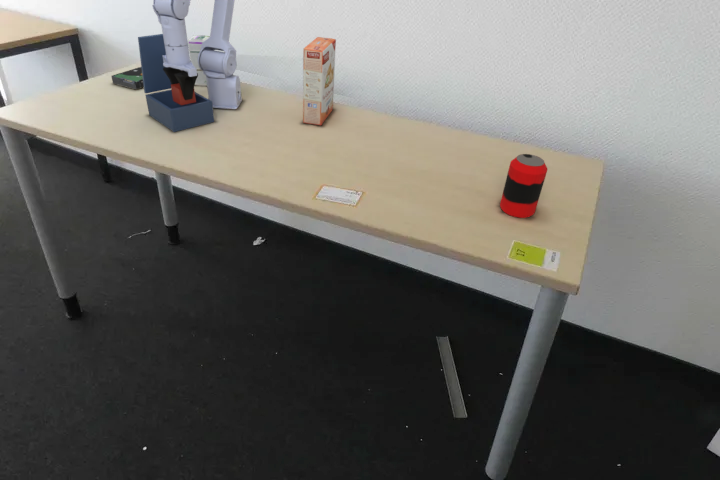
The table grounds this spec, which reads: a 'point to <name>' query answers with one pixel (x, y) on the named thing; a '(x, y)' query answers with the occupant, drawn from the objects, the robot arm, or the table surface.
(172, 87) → the block
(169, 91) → the toy box
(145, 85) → the lid
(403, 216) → the table surface
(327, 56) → the cracker box
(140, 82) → the disk drive
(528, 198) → the soda can
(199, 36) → the syrup box
